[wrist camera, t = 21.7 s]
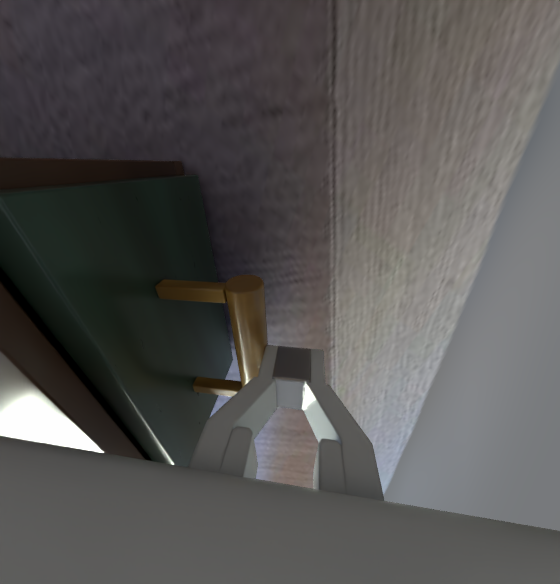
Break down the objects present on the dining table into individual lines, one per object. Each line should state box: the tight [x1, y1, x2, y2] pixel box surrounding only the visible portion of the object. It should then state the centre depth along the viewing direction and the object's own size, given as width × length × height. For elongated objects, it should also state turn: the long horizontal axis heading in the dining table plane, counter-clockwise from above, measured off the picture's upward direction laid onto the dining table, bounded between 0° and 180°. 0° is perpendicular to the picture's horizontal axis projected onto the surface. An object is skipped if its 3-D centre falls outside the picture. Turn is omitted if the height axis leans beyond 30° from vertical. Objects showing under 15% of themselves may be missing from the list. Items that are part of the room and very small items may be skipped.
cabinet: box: [0, 157, 185, 461], centre depth 12 cm, size 17×15×10 cm
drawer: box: [0, 175, 268, 467], centre depth 11 cm, size 20×13×8 cm
